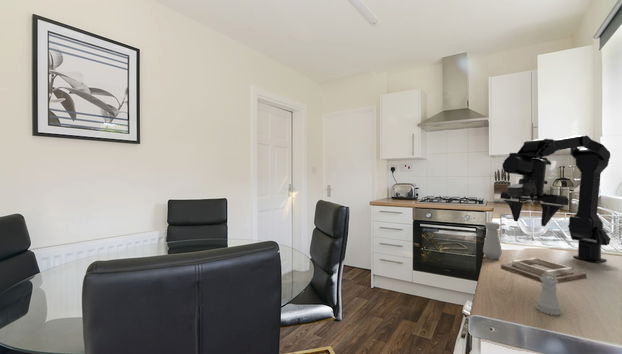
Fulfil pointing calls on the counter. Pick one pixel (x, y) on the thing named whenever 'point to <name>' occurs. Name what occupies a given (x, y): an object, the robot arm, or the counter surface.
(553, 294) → the rook chess piece
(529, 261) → the collar board
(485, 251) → the salt shaker
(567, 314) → the counter surface
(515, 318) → the counter surface
